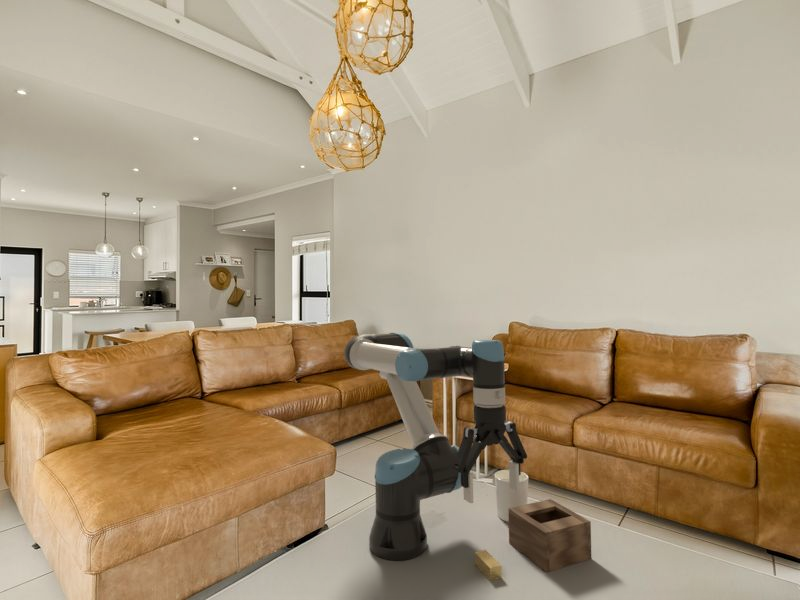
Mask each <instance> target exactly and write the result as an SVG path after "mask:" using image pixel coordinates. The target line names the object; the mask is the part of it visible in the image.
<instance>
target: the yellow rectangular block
mask: <svg viewBox="0 0 800 600" xmlns="http://www.w3.org/2000/svg"><path fill="white" fill-rule="evenodd" d="M474 565H477V566H478V567H479V568H478V567H477V566H476V567H477V568H478V569H479V570H480V571H481V572H482V574H484V576H485V575H486V576H487V577H488V578H489V579H490V580H491V581H493V580H492V579H495V580H497V579H496V578H499V579H502V578H501V577H502V575H503V574H502V573H503V572H502V564H500V563H499V562H498V560H497V559H496V558H494V556H493V555H491V554H490V553H489V551H488V550H487V549H483V550H482V549H481V550H478V551H475V552H474ZM487 577H486V578H487ZM488 578H487V579H488ZM489 579H488V580H489ZM490 580H489V581H490Z"/></svg>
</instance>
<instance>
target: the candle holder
mask: <svg viewBox="0 0 800 600" xmlns="http://www.w3.org/2000/svg"><path fill="white" fill-rule="evenodd" d="M493 476H494V483H495V496H496V497H495V498H496V509H497V516H498V518H499V519H500V520H502V521H504V522H507V523H509V508H512V507H517V506H521V505H526V504H528V494H529V493H528V492H529V491H528V490H529V475H528V474H527V473H525V472H523V471H521V474H520V475H519V491H518V492H517V491H515V490H513V489H511V488H510V487H509V469H501V470H498V471H496V472H495V473H494V475H493Z"/></svg>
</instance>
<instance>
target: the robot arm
mask: <svg viewBox="0 0 800 600" xmlns="http://www.w3.org/2000/svg"><path fill="white" fill-rule="evenodd" d="M343 350H344V351H343V356H344V360H345V362H346V363H347V364H348V366H349V367H350V368H352V369H355V370H360V371H367V370H368V371H370V370H375V371H377V372H378V374H379V377H380V378H381V379H382V380H386V381H387V384H388V387H389V389H390V392H391V394H392V397H393V399H394V401H395V404H396V407H397V409H398V412H399V414H400V417H401V419H402V422H403V425H404V427H405V429H406V432H407V434H408V437H409V439H410V441H411V444H412V448H402V449H400V448H397V449H393V450H388V451H386V452H385V453H383V454H381V455H380V456H379V457H378V458H377V461H376V462H375V472H374V480H375V481H374V482H375V486H374V487H375V489H374V490H375V516H374V520H373V524H372V525H371V528H370V529H371V530H370V533H369V537H368V542H369V544H368V545H369V550H370V551H371V553H373V555H375V556H377V557H379V558H381V559H385V560H390V561H404V560H405V561H406V560H410V559H413V558H416V557H419V556H420V555H422V554H423V553H424V552H425V551H426V549H427V547H428V535H427V532H426V529H425V525H424V522H423V520H422V519H423V518H422V516H421V501H422V500H425V499H429V498H432V497H433V498H434V497H435V496H440V495H444V494H450V493H452V492H453V491H456V490H459V489H461V488H463V500H465V501H466V502H468V503H469V504H473V503H474V479H473V478H474V474H473V473H472V472H471V470H472V469H473V467H474V465H475V463H476V462H477V460H478V458H479V457H480V455H481V453H482V451H483V450H484V449H486V448H487V447H490V446H492V445H500V447H501V448H502V450H504V452H505V454H506V455H508V457H509V458H510V460H509V461H508V470H509V487H510V488H511V489H513V490H515V491H517V492H518V491H519V475H520V474H521V472H522V471H521V469H522V468H521V465H522V464H524V462H525V460H526V459H527V458H528V455H527V452H526V450H525V447H524V445H523V443H522V441H521V438H520V436H519V434H518V432H517V425H516V423H515V422H513V421H509V420H507V411H506V410H507V409H506V408H507V407H506V406H505V403H506V384H505V383H506V379H505V375H506V374H505V360H506V357H505V352H504V351H505V350H504V344H503V342H502V341H501V340H499V339H477V340H475V339H474V340H473V341H472V343H471V347H468V346H460V345H451V346H446V347H436V348H435V347H434V348H415V347H414V345H413V343H412V340H411V339H410V338H409V337H408V336H407V335H406V334H405V333H400V332H398V333H397V332H388V333H363V334H359V335H356V336H354V337H352V338H350V340H348V342H347V343H346V345H345V346H344V349H343ZM455 377H466V378H467V377H468V378H472V392H473V393H472V394H473V395H472V397H473V403H474V404H475V405H474V406H473V421H474V423H475V425H474V428H471V427H467V426H466V427H465V426H464V428H463V433H462V434H463V437H462V440H461V442H460V445H459V446H458V445H455V444H451V442H450V440H449V438H448V437H447V436H446V435H444V434H442V433H440V432H439V429H438V427H437V425H436V422H435V420H434V418H433V415H432V413H431V411H430V409H429V407H428V404H427V401H426V400H425V398H424V395H423V393H422V391H421V389H420V386H419V384H418V382H419V381H424V380H433V379H444V378H455ZM505 433H506V435H507V436H508V438H509V439H508V438H507V437H506V436H505ZM509 441H510V442H509ZM510 443H511V444H510Z"/></svg>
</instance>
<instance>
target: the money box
mask: <svg viewBox="0 0 800 600" xmlns="http://www.w3.org/2000/svg"><path fill="white" fill-rule="evenodd" d="M591 524H592V523H591V520H589V519H587V518H585V517H584V516H582V515H581V514H578V513H576V512H575V511H572V510H571V509H570V508H567V507H565V506H563V505H562V504H560V503H559V502H556V501H555V500H553V499H551V498H550V499H545V500H540V501H535V502H531V503H527V504H526V505H521V506H517V507H512V508H509V522H508V543H509V544H510V545H511V546H512V547H513V548H515V549H516V550H518V551H519V552H520V554H522V555H524V556H525V557H526V558H528V559H529V560H530V561H531V562H533V563H534V564H535V565H537V566H538V567H539V568H540V569H541V570H543V571H544V572H545V573H549V572H551V571H554V570H558V569H563V568H565V567H568V566H571V565H574V564H575V565H576V564H578V563H581V562H585V561H588V560H592V558H593V557H592V526H591Z"/></svg>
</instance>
